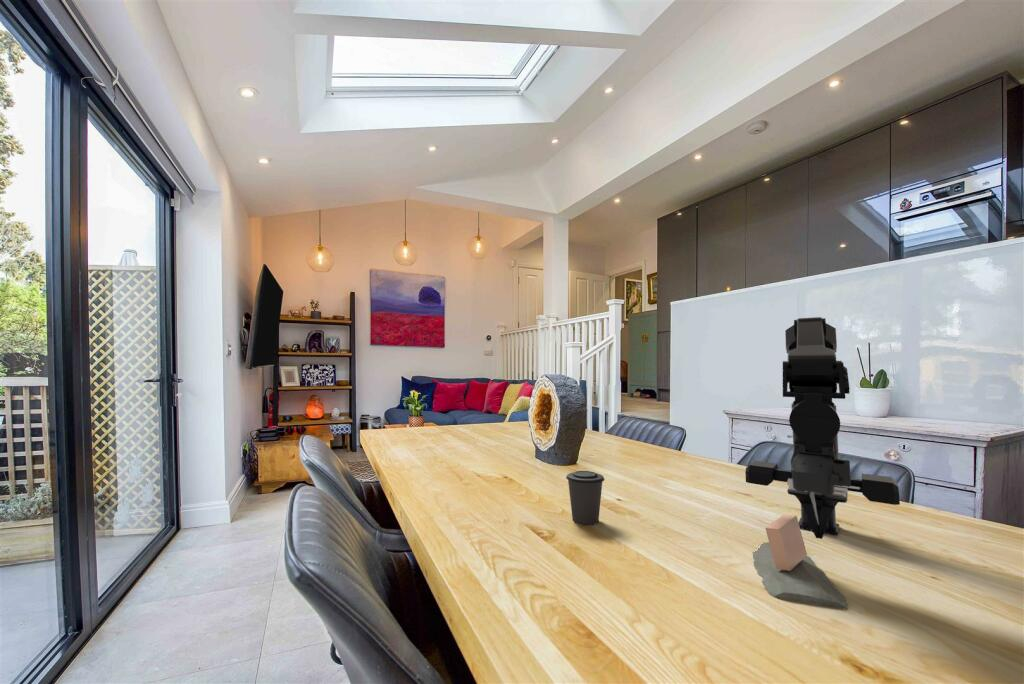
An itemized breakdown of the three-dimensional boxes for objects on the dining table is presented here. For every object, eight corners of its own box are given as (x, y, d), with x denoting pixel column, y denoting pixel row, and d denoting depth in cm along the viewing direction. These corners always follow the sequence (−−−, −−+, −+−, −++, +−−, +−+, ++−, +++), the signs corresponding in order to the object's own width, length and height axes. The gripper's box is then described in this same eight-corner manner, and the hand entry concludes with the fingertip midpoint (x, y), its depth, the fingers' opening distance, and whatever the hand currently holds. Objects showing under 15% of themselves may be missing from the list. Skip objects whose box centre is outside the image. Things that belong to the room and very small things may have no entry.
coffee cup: (608, 528, 85) (608, 477, 86) (568, 527, 86) (567, 476, 86) (601, 514, 93) (600, 468, 94) (564, 514, 94) (563, 467, 94)
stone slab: (772, 612, 59) (857, 615, 56) (768, 591, 59) (853, 593, 56) (738, 550, 80) (799, 550, 77) (736, 535, 80) (796, 534, 78)
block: (776, 568, 65) (765, 527, 66) (793, 552, 70) (783, 514, 71) (790, 570, 64) (779, 529, 65) (807, 554, 68) (796, 515, 69)
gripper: (736, 434, 66) (739, 538, 65) (899, 448, 54) (906, 575, 53) (750, 427, 75) (753, 519, 74) (893, 438, 63) (899, 547, 62)
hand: (819, 537), depth 65 cm, fingers closed
